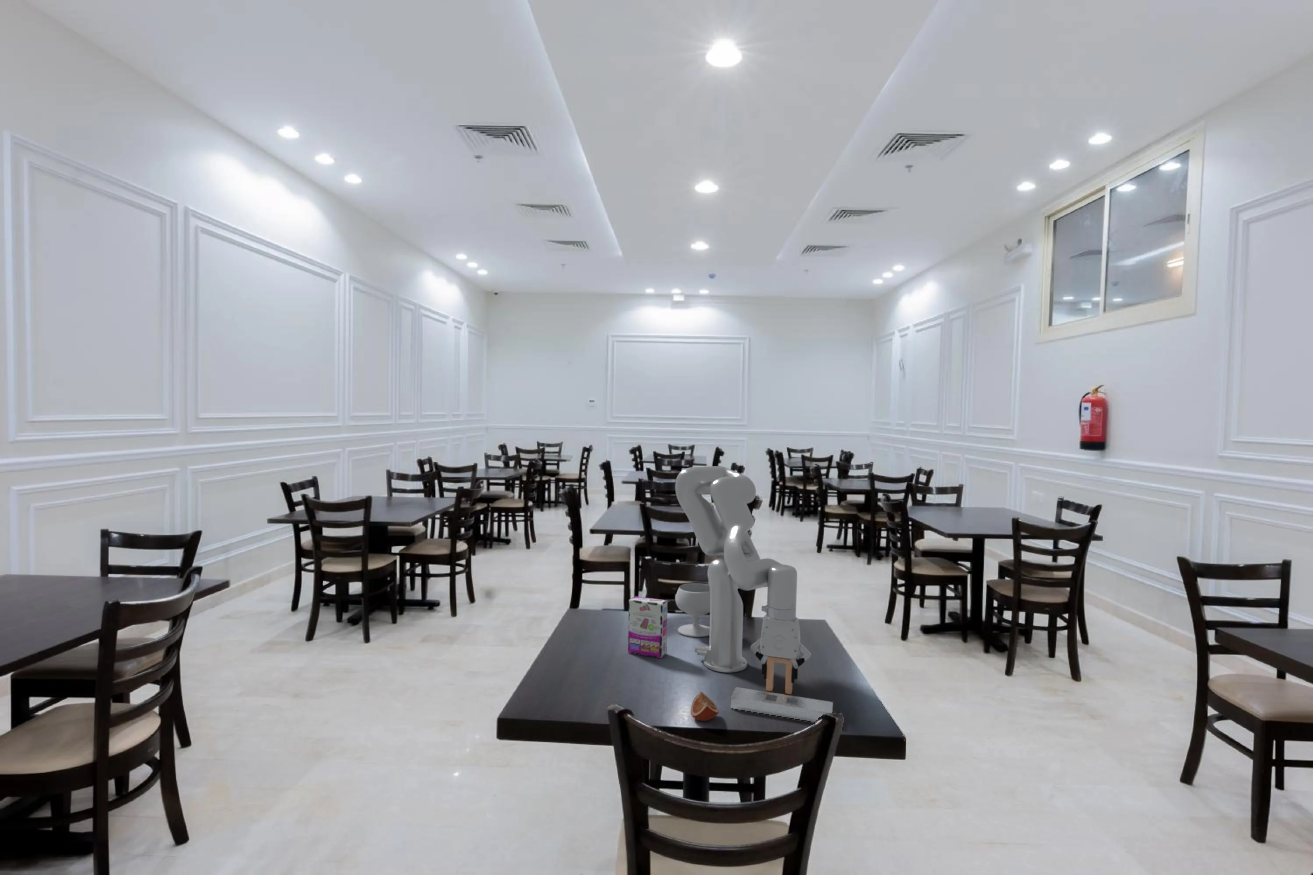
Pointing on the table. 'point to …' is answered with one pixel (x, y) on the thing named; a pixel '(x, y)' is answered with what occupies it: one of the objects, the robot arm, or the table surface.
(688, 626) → the chalice
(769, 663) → the orange u-shaped block
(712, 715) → the fruit slice
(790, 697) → the rail
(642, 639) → the candy bar box
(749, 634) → the table surface
